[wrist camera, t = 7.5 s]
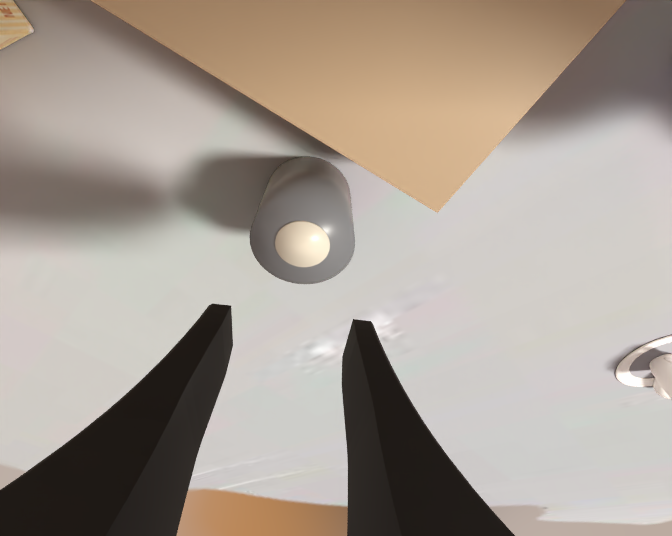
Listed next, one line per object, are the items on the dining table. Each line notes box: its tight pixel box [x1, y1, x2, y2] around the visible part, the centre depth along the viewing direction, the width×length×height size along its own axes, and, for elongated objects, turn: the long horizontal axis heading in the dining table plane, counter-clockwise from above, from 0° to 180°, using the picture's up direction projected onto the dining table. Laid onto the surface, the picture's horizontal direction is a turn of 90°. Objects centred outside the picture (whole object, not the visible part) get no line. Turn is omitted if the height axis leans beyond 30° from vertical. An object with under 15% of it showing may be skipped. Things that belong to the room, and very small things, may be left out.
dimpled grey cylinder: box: [250, 157, 355, 284], centre depth 17 cm, size 5×5×5 cm
